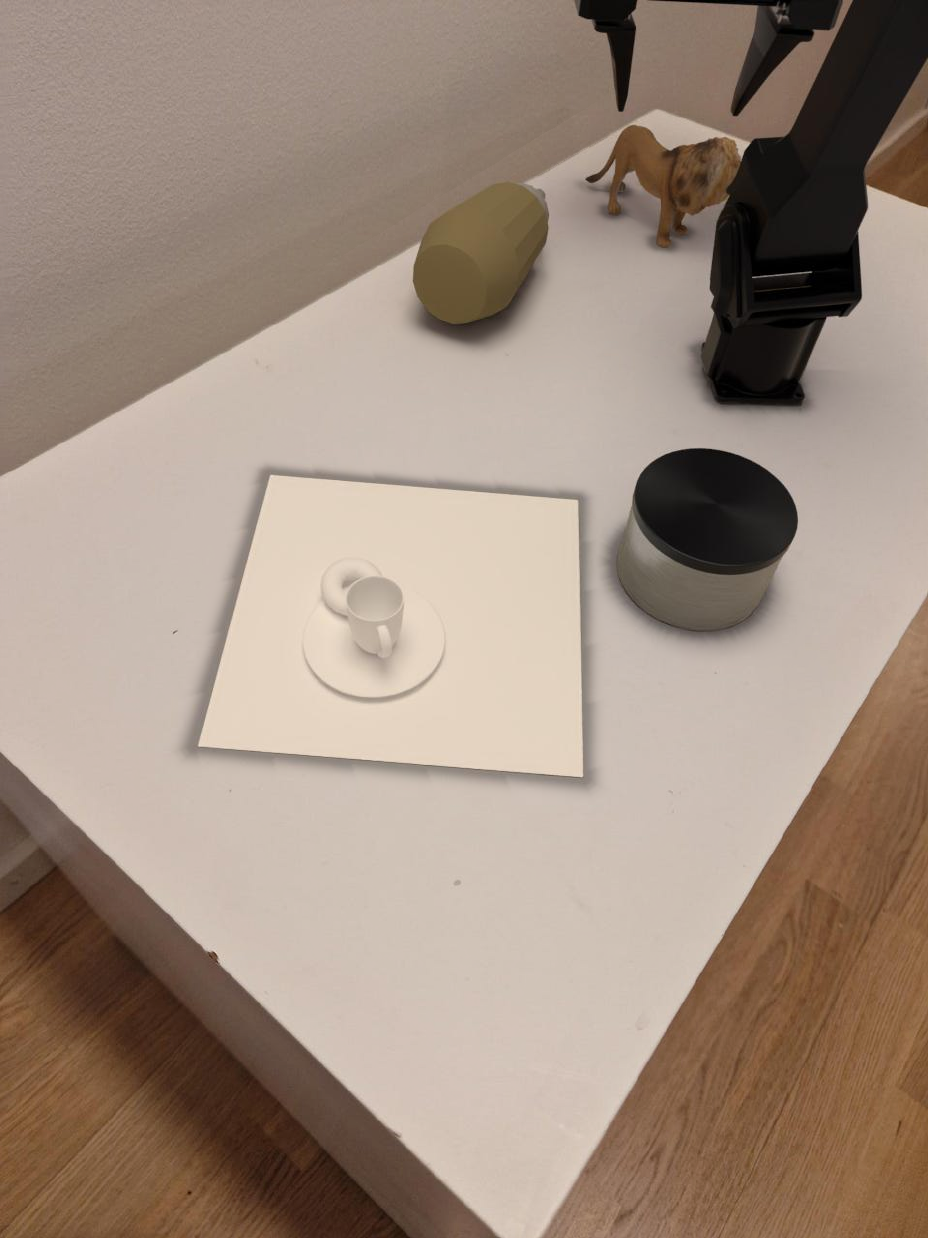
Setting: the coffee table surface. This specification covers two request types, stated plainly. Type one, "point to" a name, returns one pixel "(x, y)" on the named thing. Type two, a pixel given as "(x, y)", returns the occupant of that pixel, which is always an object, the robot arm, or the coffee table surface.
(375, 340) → the coffee table surface
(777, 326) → the robot arm
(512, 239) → the squeeze bottle
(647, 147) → the lion figurine
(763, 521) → the steel canister
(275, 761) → the coffee table surface
